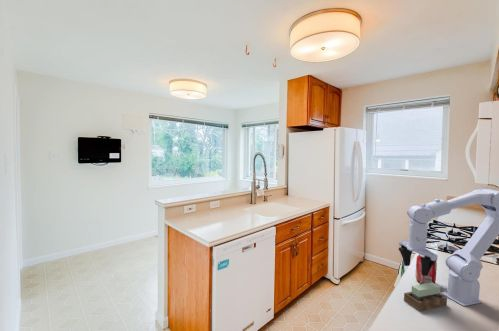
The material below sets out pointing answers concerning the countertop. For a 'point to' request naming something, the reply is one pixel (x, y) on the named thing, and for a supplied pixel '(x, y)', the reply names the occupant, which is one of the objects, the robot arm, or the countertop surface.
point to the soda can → (431, 275)
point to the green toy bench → (425, 290)
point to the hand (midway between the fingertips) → (415, 270)
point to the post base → (425, 301)
